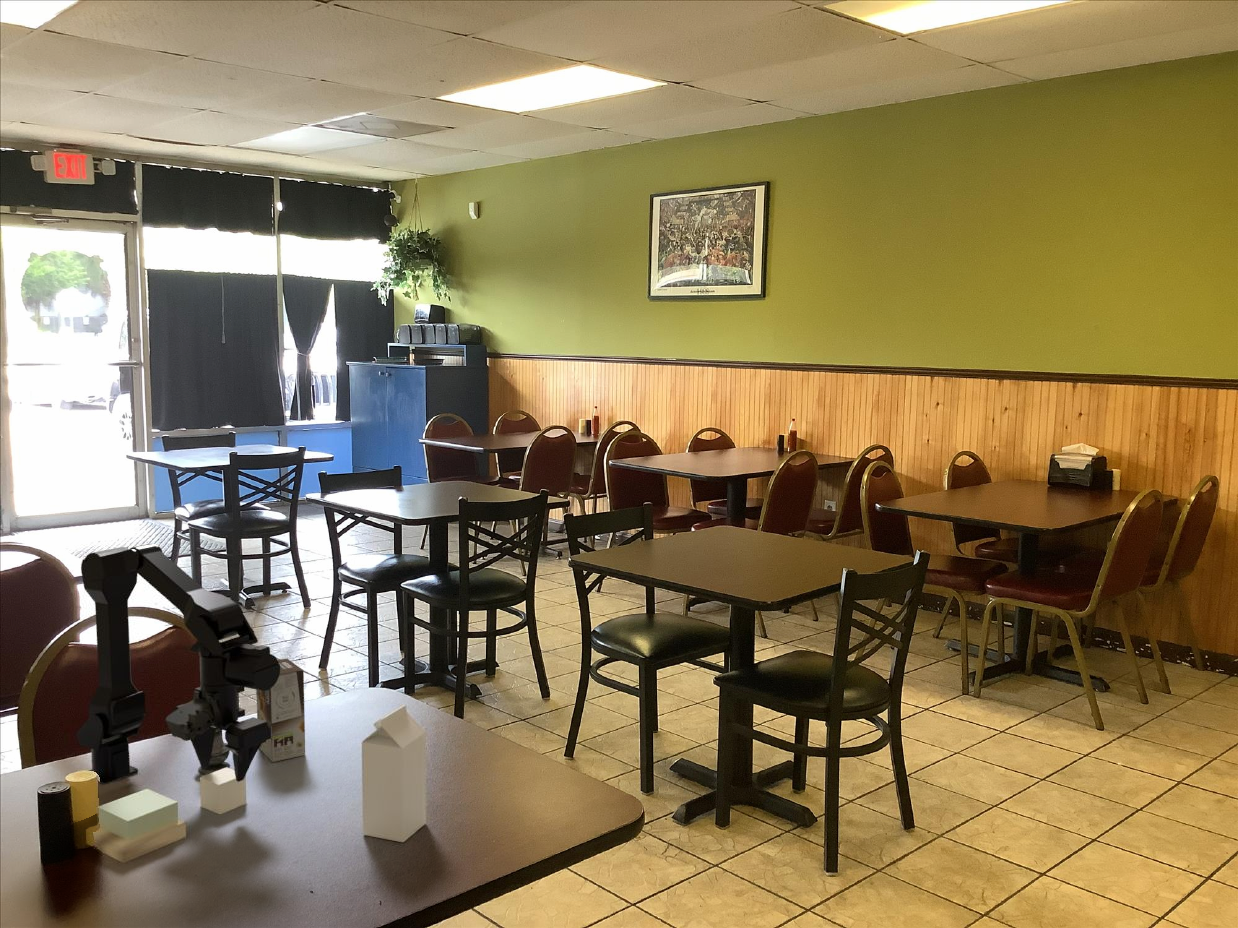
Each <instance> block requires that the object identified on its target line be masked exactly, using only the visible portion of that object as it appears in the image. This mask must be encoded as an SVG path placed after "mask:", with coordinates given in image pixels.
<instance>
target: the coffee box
mask: <svg viewBox="0 0 1238 928" xmlns="http://www.w3.org/2000/svg"><path fill="white" fill-rule="evenodd" d="M277 660H278V662H279V664H280V675H279V678H278V680H277V682H276V684H275V685H274V686H273V687H272V688H271V689H269V690H267V691H260V690H256V689H255V690H256V691H255V692H256V715H257V716H256V717H257V719H260V720H263V721H266V722H268V723H269V724H270V725H272V738H271V739H268V740H266V742H264V743H262V744H261V746H260V747H259V749H258V750H260V751H261V752H262V753H263V754H264V755H265V756H266V757H267V758H268V759H269V760H270V761H271V762H272V763H275V762H279V761H284V760H290V759H292V758H297V757H301V756H305V755H306V729H305V727H306V725H305V724H306V723H305V722H306V721H305V717H306V716H305V677H304V675H305V674H304V673H305V672H304V669H302V668H301V667H300V666H299V665H297V664H295V663H294V662H293V661H291V659H289V658H283V659H277Z"/></svg>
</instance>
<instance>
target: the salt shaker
mask: <svg viewBox="0 0 1238 928" xmlns="http://www.w3.org/2000/svg"><path fill="white" fill-rule="evenodd" d="M225 745H228V743H227V742H224V739H223V730H222V729H219V728H216V733H215V738H214V743H213V748H212V754H211V758H210V762H209V766H208V767H205V768H202V767H201V765H200V766H199V767H198V769H197V771H198V773H200V774H202V775H207V774H210V773H213V772H215V771H218V770H221V769H223V768H226V767H227V768H230V769H231V764H230V763H229V762H226V760H227V759H228V758H229V756H230V752H231V751H230V750H229V749H227V748H226V747H225Z"/></svg>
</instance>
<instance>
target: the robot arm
mask: <svg viewBox="0 0 1238 928" xmlns="http://www.w3.org/2000/svg"><path fill="white" fill-rule="evenodd" d="M80 570H81V571H80V572H81V577H82V578H81V579H82V585H83V587H84V590H85V591H86V593H87V595H88V596H89V597H90V598H91V599H92V601H93V602H94V604H95V605H94V606H95V608H94V609H95V610H94V611H95V623H96V624H95V625H96V626H95V628H96V646H97V647H96V648H97V652H96V653H97V670H98V686H97V689H96V690H95V692H94V693H93V696H92V697H91V700H90V702H89V706H88V719H87V720H86V722H84V724H83V725H82V726H81V727H80V728H79V730H78V731H77V732H76V738H77V742H78V745H79V746H80V747H84V748H88V749H91V750H90V751H91V769H90V770H88V771H94V772H96V773H97V774H98V775H99V777H100V782H99V783H100V784H107V783H111V782H113V781H116V780H119V779H122V778H124V777H128V776H131V775H134V774H137V773H138V772H139V769H138V768H137V767H134V766H132V765H131V761H130V758H131V757H130V749H129V748H130V747H129V745H130V743H129V738H131V737H133V736H137V735H139V734H140V731H141V728H142V724H143V722H144V720H145V715H146V714H148V711H147V709H146V693H145V691H141V690H140V691H139V690H138V688H137V687H136V686H135V685H134V683H133V682H132V672H131V671H132V670H131V668H132V667H131V649H130V626H129V625H130V623H129V598H130V597H131V594H132V592H133V591H134V589H135V587H136V586H137V583H138V575H139V577H141V578H142V579H143V580H144V581H146V582H147V583H148V584H149V585H150V586H151V587H153V589H155V590H156V591H157V592H158V593H160V595H161V596H163V597H164V598H165V599H166V600H167V601H168V602H169V603H171V604H172V605H173V606H174V607H176V609H177V610H179V612H180V613H181V614H182V617H183V622H184V626H185V627H186V628H187V630H188V632H190V633H191V635H192V636H193V637H194V638H195V640H197V641H196V642H194V644H192V645H191V646H190V647H189V652H191V653H196V654H199V672H200V673H199V675H200V686H199V687H196V688H194V691H193V694H192V695H193V697H192V698H193V699H192V700H191V701H189V702H187V703H183V704H182V703H181V704H179V705H177V706H175V707H174V709H173V710H172V711H171V713H169V715H168V716H166V718H165V722H166V724H167V726H168V729H169V731H170V733H171V736H173V737H175V738H179V739H181V740H182V741H187V742H188V741H190V743H191V744H192V746H193V749H194V752H195V754H196V757H197V760H198V762H199V764H200V766H201V767H202V768H205V767H208V766H209V762H210V758H211V754H212V748H213V743H214V738H215V733H216V728H219V729H222V731H225V732H224V739H225V741H226V743H227V744H228V745H225V747H226V748H227V749H229V750H230V752H231V753H232V759H233V762H232V763H233V768H234V769H233V770H235V776H236V781H238V782H239V781H242V780H243V779H244V777H245V775H246V776H247V773H248V771H249V769H250V766H251V764H252V763H253V760H254V758H255V756H256V754H257V752H258V750H260V749H259V747H260V746H261V744H262V743H264V742H266V740H268V739H271V738H272V725H270V724H269V723H268V722H266V721H263V720H260V719H257V718H256V717H250V718H247V719H244V720H241V721H239V718H241V717H245V716H246V709H244V708H242V707H240V693H243V692H245V688H247V689H252V690H260V691H267V690H269V689H271V688H272V687H273V686H274V685H275V684H276V682H277V680H278V678H279V675H280V664H279V662H278V660H279V659H278V658H277V657H276V656H275V655H274V654H271V647H270V646H268V645H255V644H257V643H259V639H258V638H257V635H256V634H255V631H254V630H253V628H252V627H251V625H250V623H249V621H248V619H247V618H246V616H245V614H244V610H243V609H242V607H241V606H240V605H239V604H238V603H237V602H235V601H234V600H232V599H231V598H229V597H227V596H226V595H223V594H220V593H217V592H212V591H209V590H207V589H206V588H204V587H203V586H202V585H201V584H199V583H198V582H197V581H196V580H195V579H194V578H193V577H191V576H190V575H189V574H188V573H186V572H185V571H184V570H183V569H182V568H181V567H179V566H178V565H177V564H176V563H175V562H174V561H172V560H171V559H170V558H169V557H168V556H167V555H166V554H165V553H164V552H163V550H162V548H161V546H159V545H158V544H154V543H148V544H142V545H138V546H137V545H136V546H133V547H130V548H128V547H125V546H123V547H115V548H110V549H105V550H100V551H95V552H90V553H88V554H86V556H85V558H83V559H82V560H81V565H80ZM236 635H238V636H236ZM234 636H236V637H234ZM231 637H233V638H231ZM228 638H230V639H228ZM225 639H227V640H225ZM221 640H224V641H221Z"/></svg>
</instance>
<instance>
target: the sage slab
mask: <svg viewBox="0 0 1238 928" xmlns="http://www.w3.org/2000/svg"><path fill="white" fill-rule="evenodd" d="M98 808H99V824H100V827H101V828H103V829H106V830H108V831H110V832H112V833H114V834H116V835H118V836H120V837H122V838H124V839H126V840H128V841H129V840H132V839H134V838H137V837H139V836H142V835H144V834H147V833H149V832H151V831H154V830H156V829H159V828H161V827H164V826H166V825H169V824H171V823H174V822H176V821H178V819H179V805H178V801H176V800H174V799H171V798H169V797H168V796H165V795H163V794H160V793H158V792H156V791H154V790H151V789H149V788H145V789H142V790H141V791H137V792H135V793H132V794H129V795H126V796H124V797H121V798H118V799H115V800H113V801H110V802H107V803H105V804H101V805H99V806H97V809H98Z"/></svg>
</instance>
